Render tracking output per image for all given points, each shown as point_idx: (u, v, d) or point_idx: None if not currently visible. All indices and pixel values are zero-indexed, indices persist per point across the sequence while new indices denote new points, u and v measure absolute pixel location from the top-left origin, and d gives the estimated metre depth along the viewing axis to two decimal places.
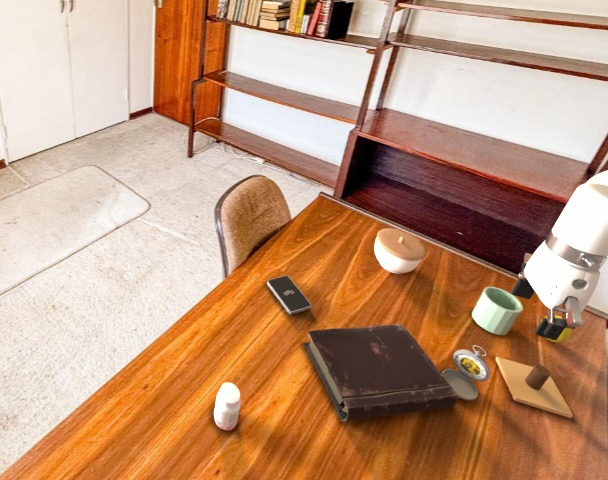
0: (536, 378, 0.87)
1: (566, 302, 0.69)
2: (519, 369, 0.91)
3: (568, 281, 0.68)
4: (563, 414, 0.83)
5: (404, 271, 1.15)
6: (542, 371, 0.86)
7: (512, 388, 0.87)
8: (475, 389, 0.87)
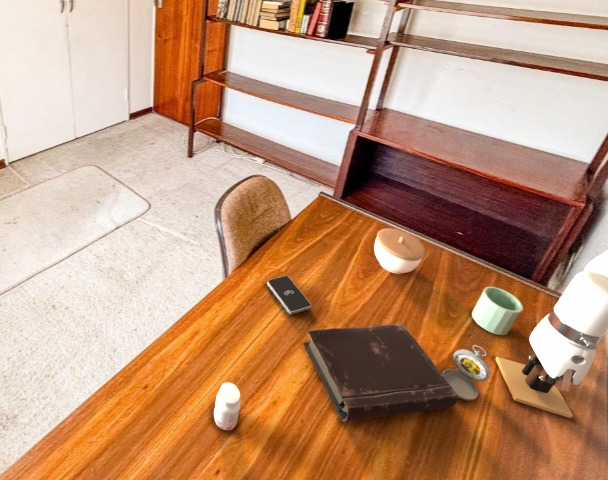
0: None
1: None
2: (519, 369, 0.91)
3: (568, 356, 0.79)
4: (563, 414, 0.83)
5: (404, 271, 1.15)
6: None
7: (512, 388, 0.87)
8: (475, 389, 0.87)
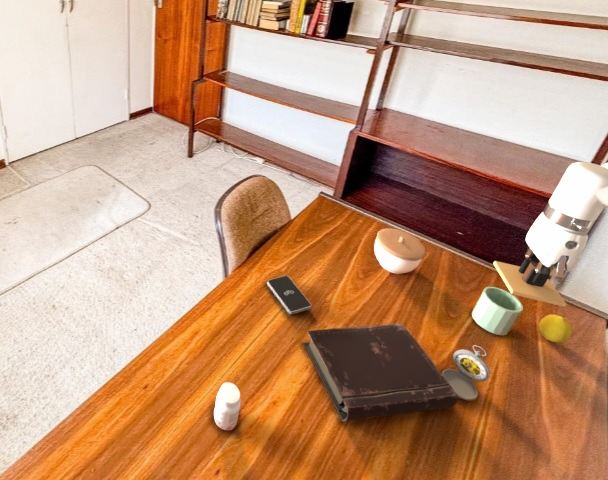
0: None
1: None
2: (516, 270, 0.96)
3: (562, 243, 0.83)
4: (557, 303, 0.88)
5: (404, 271, 1.15)
6: None
7: (509, 284, 0.92)
8: (475, 389, 0.87)
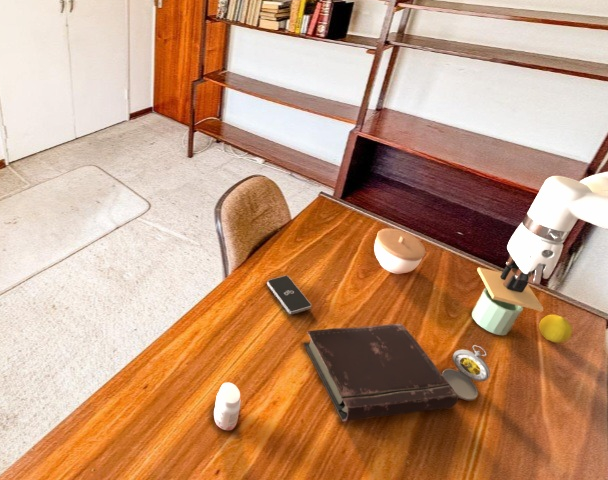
0: None
1: None
2: (498, 276, 1.02)
3: (539, 251, 0.89)
4: (535, 308, 0.94)
5: (404, 271, 1.15)
6: None
7: (491, 289, 0.98)
8: (475, 389, 0.87)
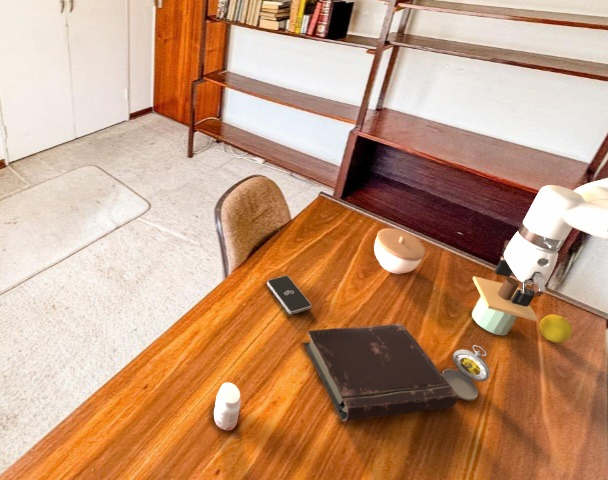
0: (506, 289, 0.98)
1: (534, 276, 0.91)
2: (493, 285, 1.03)
3: (534, 260, 0.90)
4: (529, 317, 0.95)
5: (404, 271, 1.15)
6: (512, 282, 0.98)
7: (486, 298, 0.99)
8: (475, 389, 0.87)
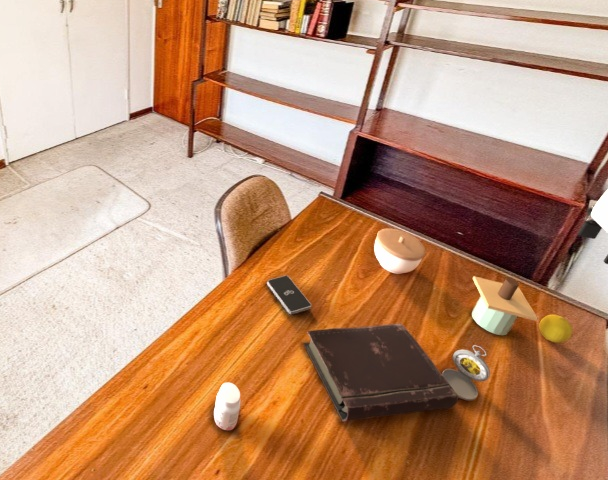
0: (506, 289, 0.98)
1: None
2: (493, 285, 1.03)
3: None
4: (529, 317, 0.95)
5: (404, 271, 1.15)
6: (512, 282, 0.98)
7: (486, 298, 0.99)
8: (475, 389, 0.87)
